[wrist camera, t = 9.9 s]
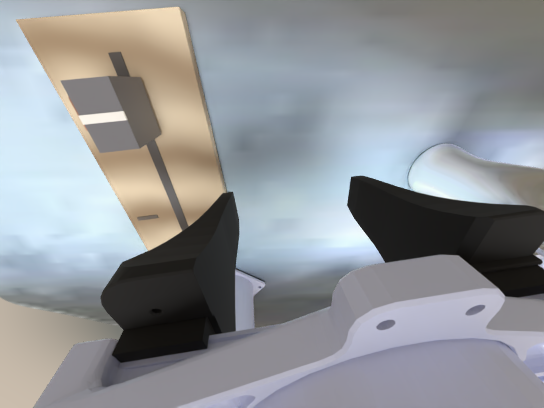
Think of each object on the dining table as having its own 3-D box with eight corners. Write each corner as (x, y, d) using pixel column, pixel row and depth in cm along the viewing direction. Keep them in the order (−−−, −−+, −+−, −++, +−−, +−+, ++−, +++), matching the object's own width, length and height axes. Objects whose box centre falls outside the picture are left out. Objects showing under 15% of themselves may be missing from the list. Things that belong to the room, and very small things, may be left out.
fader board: (235, 230, 25) (234, 239, 23) (153, 242, 24) (147, 251, 23) (184, 13, 14) (178, 6, 13) (36, 25, 14) (13, 19, 12)
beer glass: (442, 126, 21) (754, 197, 8) (475, 158, 23) (751, 252, 11) (391, 179, 24) (563, 296, 11) (425, 203, 26) (597, 321, 13)
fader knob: (161, 134, 16) (139, 148, 13) (129, 138, 16) (99, 153, 13) (140, 76, 14) (107, 75, 11) (103, 80, 14) (58, 80, 11)
